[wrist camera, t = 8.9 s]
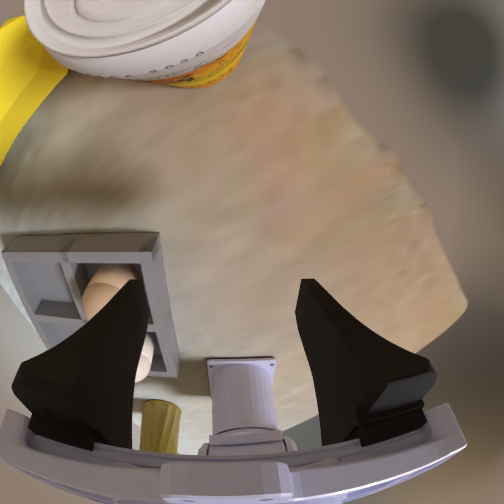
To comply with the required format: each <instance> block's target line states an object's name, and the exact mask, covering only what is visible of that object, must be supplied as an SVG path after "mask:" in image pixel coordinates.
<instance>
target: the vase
mask: <svg viewBox="0 0 504 504" xmlns="http://www.w3.org/2000/svg"><path fill="white" fill-rule="evenodd" d="M180 416H181V410H180V408H179V407H178V406H176V405H174V404H172V403H169V402H166V401H161V400H150V401H146V402H145V403H144V404H143V406H142V422H141V438H140V451H148V452H157V453H167V454H177V446H178V435H179V423H180Z"/></svg>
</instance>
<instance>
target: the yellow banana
mask: <svg viewBox="0 0 504 504" xmlns="http://www.w3.org/2000/svg"><path fill="white" fill-rule="evenodd" d="M67 72H68V68H67V67H65V66H63V65H62V64H60V63H59V62H57V61H56V60H55V59H54V58H53V57H52V56H51V55H50V54H49V53H48V52H47V50H46V49H45V47H44V45H43V44H41V43H40V42H39V41H38V40H37V39H36V38H35V37H34V36H33V34H32V33H31V31H30V29H29V28H28V25H27V22H26V19H25V15H23V16H19V17H15V18H12V19H9V20H6V21H5V23H4V24H3V25H2V26H1V27H0V166H1V164H2V162H3V160H4V158H5V156H6V154H7V152H8V151H9V149H10V147H11V145H12V143H13V142H14V140H15V138H16V137H17V135H18V133H19V132H20V130H21V129H22V128H23V126H24V125H25V123H26V122H27V121H28V119H29V118H30V117H31V115H32V114H33V113H34V112H35V110H36V109H37V108H38V106H39V105H40V104H41V103H42V102H43V100H44V99H45V98H46V97H47V96H48V94H49V93H50V92H51V91H52V90H53V89H54V88H55V86H56V85H57V84H58V83H59V82H60V81H61V80H62V79H63V78H64V77H65V76H66V75H67Z"/></svg>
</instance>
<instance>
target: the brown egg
mask: <svg viewBox="0 0 504 504" xmlns="http://www.w3.org/2000/svg"><path fill="white" fill-rule="evenodd" d="M130 279H141V276H140V274H139V272H138V271H137V269H136V268H135V267H134V266H132V265H131V264H130V263H101V264H100V265H99V267H98V268H97V270H96V272H95V274H94V275H93V277H92V279H91V281H90V282H89V284H88V286H87V288H86V290H85V292H84V294H83V298H82V309H83V313H84V315H85V317H86V319H87V321H89V320H90V319H91V318H92V317H93V316H94V315H95V314H97V313H98V312H99V311H100V310H101V309H102V308H103V307H104V306H105V305H106V304H107V303H108V302H109V301H110V300H111V298H112V297H113V296H114V295H115V294H116V293H117V292H118V291H119V290H120V289H121V288H122V287H123V286H124V285H125V284H126V283H127V282H128V281H129V280H130Z"/></svg>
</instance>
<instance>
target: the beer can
mask: <svg viewBox="0 0 504 504" xmlns="http://www.w3.org/2000/svg"><path fill="white" fill-rule="evenodd" d="M264 3H265V0H24V14H25V19H26V22H27V25H28V28H29V29H30V31H31V33H32V34H33V36H34V37H35V38H36V39H37V40H38V41H39V42H40V43H41V44H43V45H44V47H45V49H46V50H47V52H48V53H49V54H50V55H51V56H52V57H53V58H54V59H55V60H56V61H57V62H59V63H60V64H62V65H63V66H65V67H67V68H68V69H71V70H73V71H76V72H78V73H81V74H85V75H89V76H97V77H106V78H118V79H128V80H136V81H144V82H152V83H158V84H165V85H171V86H176V87H182V88H189V89H196V88H204V87H208V86H211V85H214V84H216V83H218V82H220V81H222V80H223V79H225V78H226V77H227V76H229V75H230V74H231V73H232V72H233V70H234V69H235V68H236V67H237V65H238V64H239V62H240V59H241V57H242V55H243V52H244V50H245V47H246V45H247V42H248V40H249V37H250V35H251V32H252V30H253V28H254V25H255V23H256V21H257V18H258V16H259V14H260V11H261V9H262V7H263V5H264Z"/></svg>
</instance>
